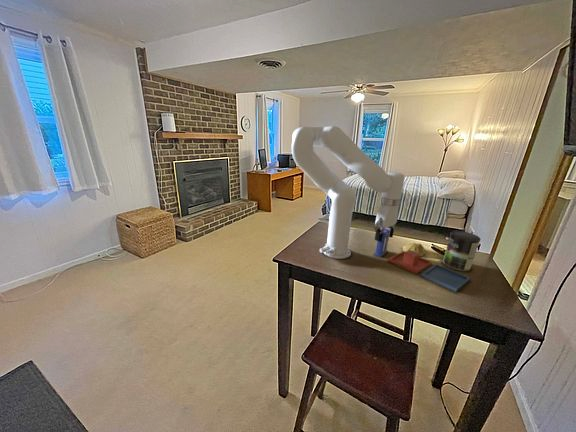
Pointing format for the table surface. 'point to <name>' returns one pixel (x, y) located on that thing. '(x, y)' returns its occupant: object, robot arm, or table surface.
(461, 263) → the coffee can
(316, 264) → the table surface
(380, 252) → the walkman
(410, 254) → the block
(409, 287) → the table surface
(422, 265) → the terracotta tray
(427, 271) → the slate tray
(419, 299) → the table surface
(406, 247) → the fossil
